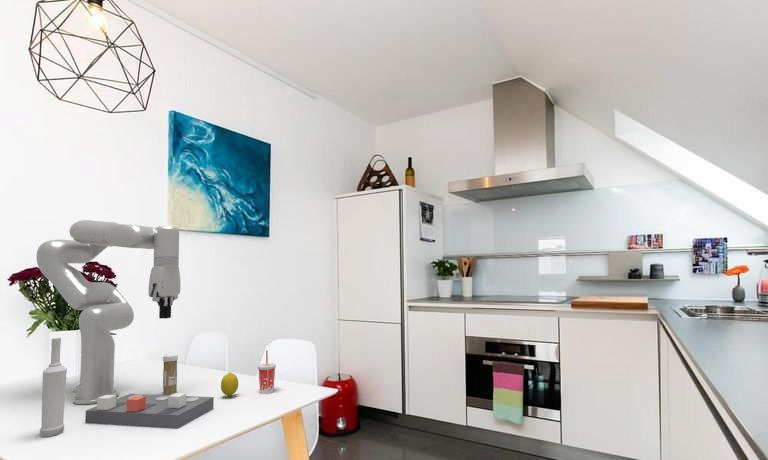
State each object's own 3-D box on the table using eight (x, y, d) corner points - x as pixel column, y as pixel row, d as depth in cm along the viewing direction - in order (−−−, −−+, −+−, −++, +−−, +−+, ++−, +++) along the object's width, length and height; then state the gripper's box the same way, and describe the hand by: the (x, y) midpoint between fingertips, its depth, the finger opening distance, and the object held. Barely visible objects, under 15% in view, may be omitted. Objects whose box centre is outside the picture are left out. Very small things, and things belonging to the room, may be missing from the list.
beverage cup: (274, 388, 150) (274, 348, 151) (276, 392, 144) (276, 351, 145) (257, 390, 147) (257, 349, 149) (258, 395, 142) (258, 353, 143)
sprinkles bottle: (175, 395, 144) (176, 355, 145) (160, 396, 143) (161, 356, 144) (178, 391, 148) (179, 353, 149) (164, 393, 147) (165, 354, 148)
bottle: (48, 430, 114) (52, 337, 116) (68, 429, 115) (72, 336, 117) (34, 438, 109) (39, 340, 111) (55, 437, 109) (59, 339, 112)
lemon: (232, 399, 138) (232, 374, 138) (217, 399, 139) (217, 374, 139) (241, 394, 143) (241, 370, 144) (226, 394, 144) (227, 370, 145)
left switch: (96, 409, 119) (97, 397, 120) (105, 406, 122) (106, 394, 123) (107, 410, 119) (107, 398, 119) (116, 406, 122) (116, 395, 122)
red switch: (126, 411, 117) (126, 399, 118) (134, 407, 120) (135, 396, 120) (137, 411, 117) (137, 399, 117) (145, 408, 119) (145, 396, 120)
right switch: (168, 407, 119) (168, 396, 120) (175, 404, 122) (175, 393, 122) (178, 408, 119) (179, 396, 119) (185, 404, 121) (186, 393, 122)
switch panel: (85, 423, 119) (85, 409, 120) (130, 404, 135) (130, 392, 135) (177, 428, 113) (178, 413, 114) (213, 408, 129) (213, 396, 129)
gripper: (172, 263, 149) (170, 315, 147) (139, 263, 135) (137, 321, 133) (190, 262, 148) (189, 315, 146) (159, 262, 133) (158, 321, 131)
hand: (165, 318), depth 139 cm, fingers closed
